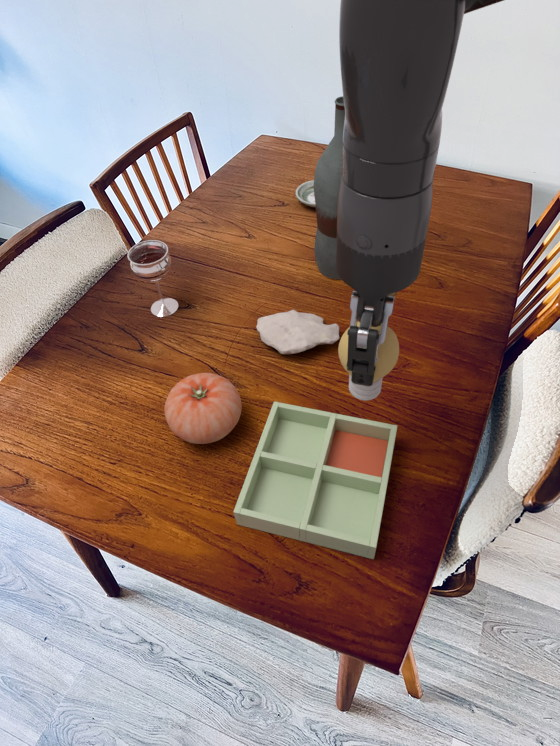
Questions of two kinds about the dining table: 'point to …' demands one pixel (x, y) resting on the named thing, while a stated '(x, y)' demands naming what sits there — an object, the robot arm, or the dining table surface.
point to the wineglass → (153, 271)
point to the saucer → (306, 193)
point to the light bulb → (385, 364)
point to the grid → (319, 479)
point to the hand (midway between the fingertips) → (368, 357)
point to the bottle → (329, 197)
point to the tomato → (203, 408)
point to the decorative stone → (295, 331)
